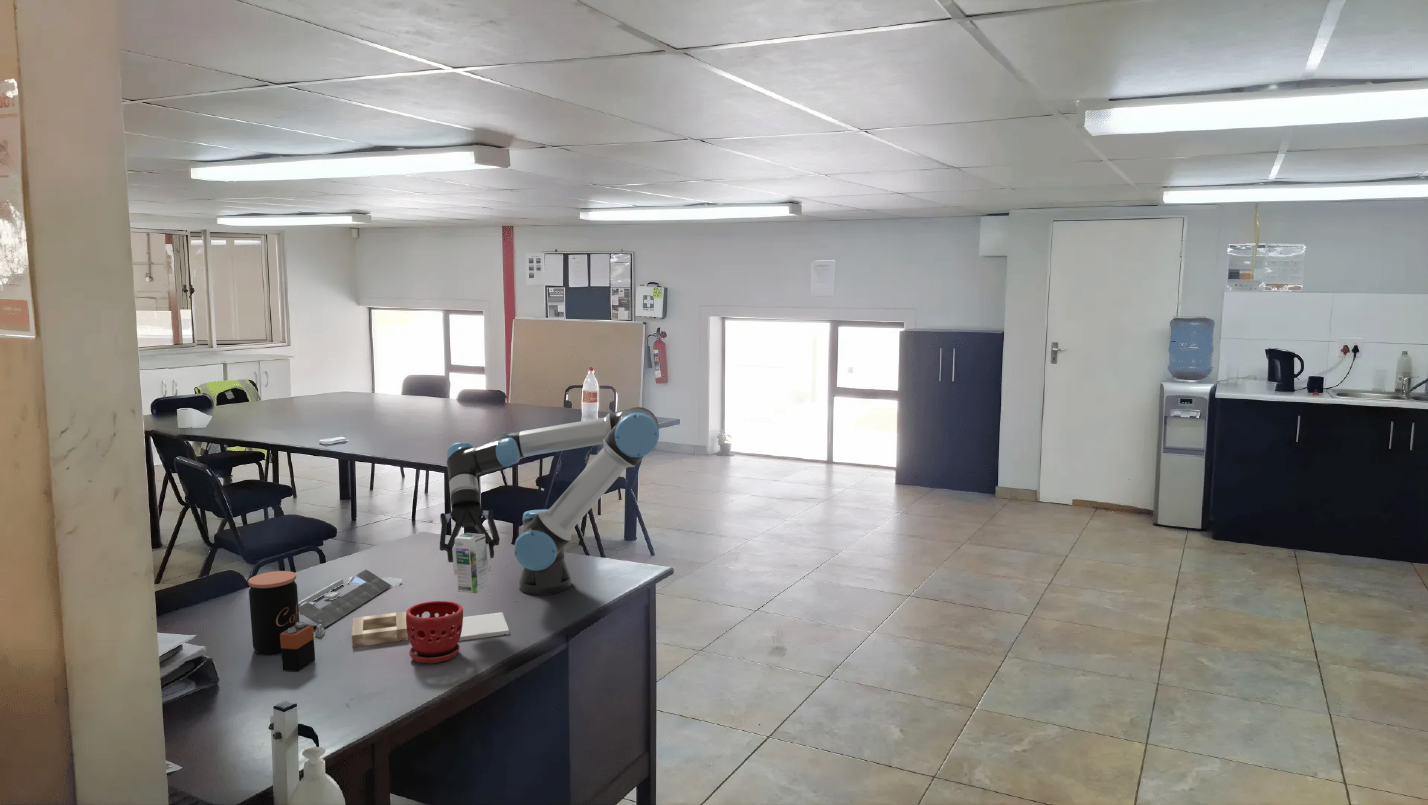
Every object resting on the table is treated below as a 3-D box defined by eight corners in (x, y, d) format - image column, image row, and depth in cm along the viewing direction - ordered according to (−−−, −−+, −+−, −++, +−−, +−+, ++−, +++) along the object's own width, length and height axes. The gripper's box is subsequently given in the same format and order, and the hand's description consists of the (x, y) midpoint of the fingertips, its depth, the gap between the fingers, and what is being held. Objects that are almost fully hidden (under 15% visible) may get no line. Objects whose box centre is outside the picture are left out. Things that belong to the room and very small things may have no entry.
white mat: (502, 615, 245) (502, 612, 245) (509, 634, 232) (509, 630, 232) (448, 622, 240) (448, 619, 240) (452, 641, 227) (452, 638, 227)
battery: (316, 660, 216) (313, 620, 215) (298, 672, 210) (295, 631, 209) (300, 659, 217) (297, 619, 216) (281, 671, 211) (278, 630, 209)
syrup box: (457, 592, 233) (453, 537, 231) (470, 584, 239) (467, 531, 237) (475, 594, 231) (472, 539, 229) (489, 586, 237) (485, 532, 235)
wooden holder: (406, 622, 241) (405, 611, 241) (407, 639, 229) (407, 628, 228) (353, 628, 237) (353, 617, 236) (352, 647, 224) (351, 635, 224)
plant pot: (434, 671, 210) (431, 622, 208) (396, 660, 217) (393, 611, 215) (476, 652, 221) (474, 605, 219) (439, 641, 228) (436, 595, 226)
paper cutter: (254, 635, 234) (252, 614, 233) (351, 580, 278) (350, 562, 277) (318, 639, 231) (316, 618, 230) (406, 582, 275) (405, 565, 274)
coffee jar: (282, 658, 218) (276, 585, 216) (243, 654, 220) (237, 583, 218) (310, 641, 229) (305, 572, 226) (272, 638, 231) (267, 569, 228)
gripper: (502, 499, 250) (512, 573, 237) (424, 505, 243) (430, 582, 230) (504, 484, 244) (514, 559, 232) (424, 490, 237) (430, 567, 225)
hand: (472, 570), depth 231 cm, fingers closed on syrup box, 8 cm apart
